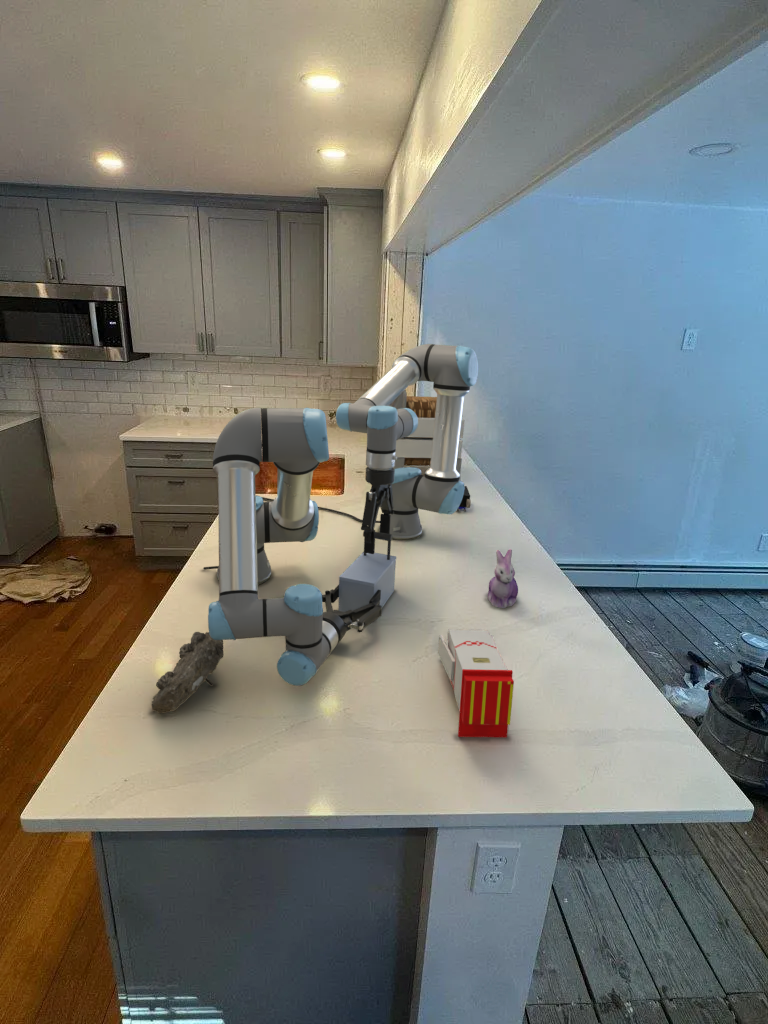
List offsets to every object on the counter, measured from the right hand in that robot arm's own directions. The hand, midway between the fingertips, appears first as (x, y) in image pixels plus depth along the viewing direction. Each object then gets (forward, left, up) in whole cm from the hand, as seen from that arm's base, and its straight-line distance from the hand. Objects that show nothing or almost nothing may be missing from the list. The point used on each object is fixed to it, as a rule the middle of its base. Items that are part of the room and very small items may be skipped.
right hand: (377, 544), depth 154 cm
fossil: (+9, -56, -14) cm, 59 cm away
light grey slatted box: (-81, +95, -14) cm, 126 cm away
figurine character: (-35, +74, -14) cm, 83 cm away
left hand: (+6, -10, -8) cm, 15 cm away
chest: (+3, -5, -14) cm, 16 cm away
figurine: (+25, +25, -14) cm, 38 cm away
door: (+3, -5, -5) cm, 8 cm away
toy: (+46, -12, -14) cm, 50 cm away
